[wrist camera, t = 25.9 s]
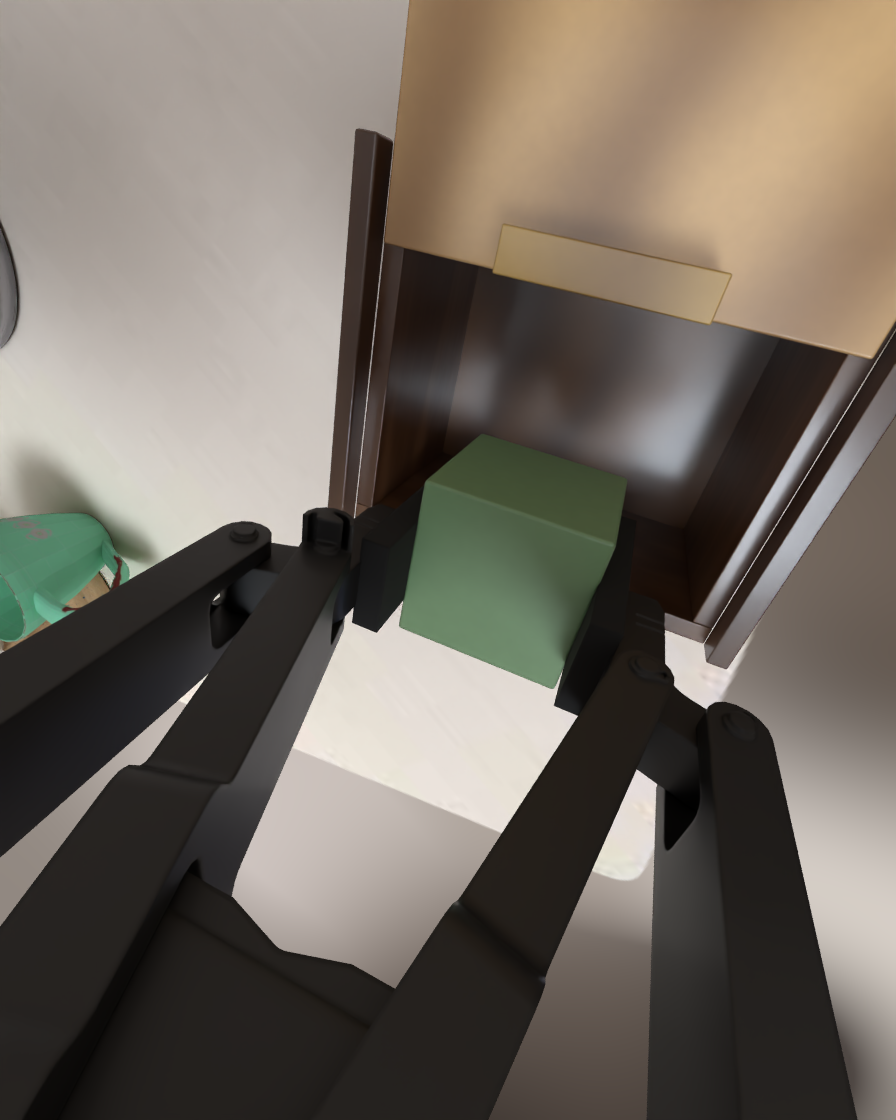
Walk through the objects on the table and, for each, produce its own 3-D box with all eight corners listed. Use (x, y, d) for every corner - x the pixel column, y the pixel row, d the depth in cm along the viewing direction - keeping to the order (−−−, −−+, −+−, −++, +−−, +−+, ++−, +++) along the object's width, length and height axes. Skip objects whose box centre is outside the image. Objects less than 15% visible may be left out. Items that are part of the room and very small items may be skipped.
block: (452, 555, 20) (397, 627, 16) (481, 432, 17) (424, 480, 13) (577, 601, 19) (553, 691, 15) (628, 478, 16) (616, 545, 12)
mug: (63, 562, 52) (-51, 616, 43) (40, 473, 46) (-95, 514, 38) (182, 614, 49) (85, 682, 40) (172, 524, 43) (57, 581, 35)
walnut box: (421, 453, 32) (326, 522, 23) (467, 183, 25) (354, 127, 16) (705, 545, 29) (726, 670, 20) (858, 264, 21) (1006, 252, 12)
